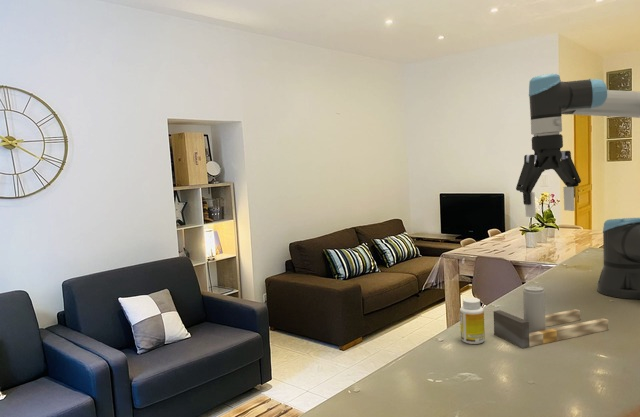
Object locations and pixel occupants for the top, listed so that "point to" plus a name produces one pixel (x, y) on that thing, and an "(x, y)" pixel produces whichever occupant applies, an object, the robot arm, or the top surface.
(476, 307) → the supplement bottle
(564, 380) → the top surface
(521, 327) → the guide channel
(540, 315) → the beverage can
